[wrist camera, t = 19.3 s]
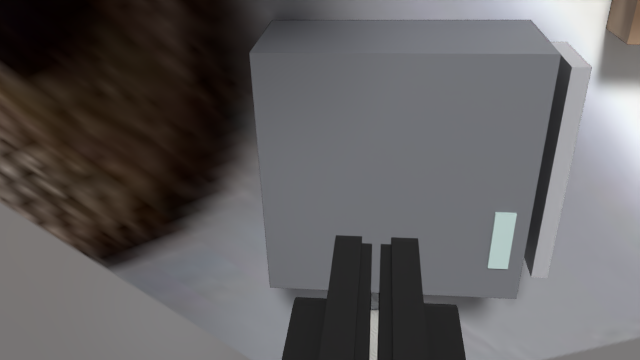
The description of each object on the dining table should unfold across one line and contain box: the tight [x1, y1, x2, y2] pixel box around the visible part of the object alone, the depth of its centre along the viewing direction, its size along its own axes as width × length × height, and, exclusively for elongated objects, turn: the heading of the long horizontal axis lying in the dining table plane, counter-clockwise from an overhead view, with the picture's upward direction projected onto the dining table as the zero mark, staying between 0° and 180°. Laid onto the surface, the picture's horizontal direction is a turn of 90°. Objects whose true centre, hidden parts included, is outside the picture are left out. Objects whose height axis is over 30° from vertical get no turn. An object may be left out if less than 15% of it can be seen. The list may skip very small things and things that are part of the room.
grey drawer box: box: [249, 20, 561, 299], centre depth 37 cm, size 16×16×7 cm
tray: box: [524, 42, 592, 278], centre depth 36 cm, size 14×17×5 cm
